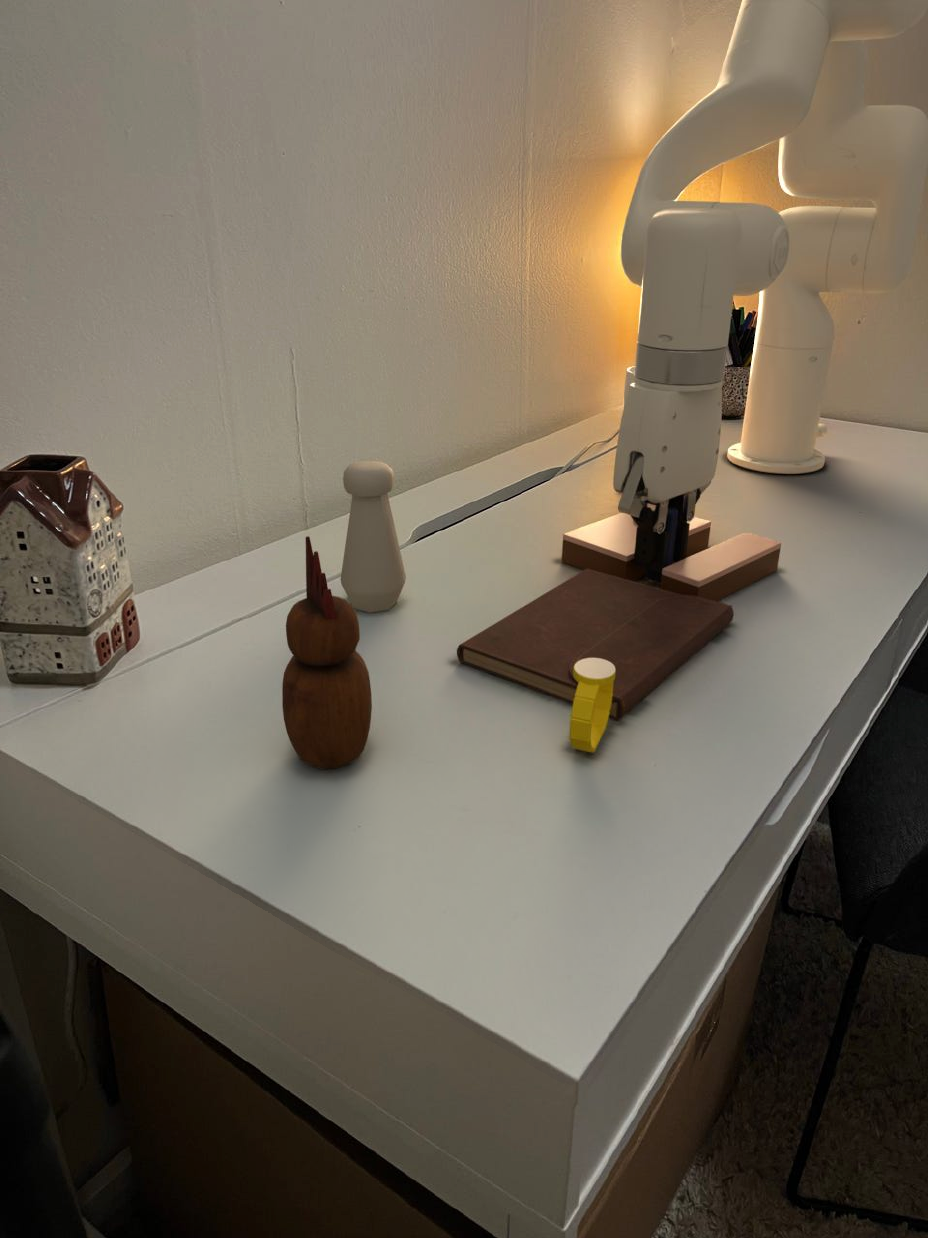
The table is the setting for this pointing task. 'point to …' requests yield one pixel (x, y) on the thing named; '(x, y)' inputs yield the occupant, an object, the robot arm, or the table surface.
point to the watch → (591, 702)
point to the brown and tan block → (619, 545)
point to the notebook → (598, 637)
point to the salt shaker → (371, 540)
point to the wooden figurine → (325, 676)
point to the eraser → (671, 528)
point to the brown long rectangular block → (723, 567)
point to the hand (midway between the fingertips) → (659, 561)
